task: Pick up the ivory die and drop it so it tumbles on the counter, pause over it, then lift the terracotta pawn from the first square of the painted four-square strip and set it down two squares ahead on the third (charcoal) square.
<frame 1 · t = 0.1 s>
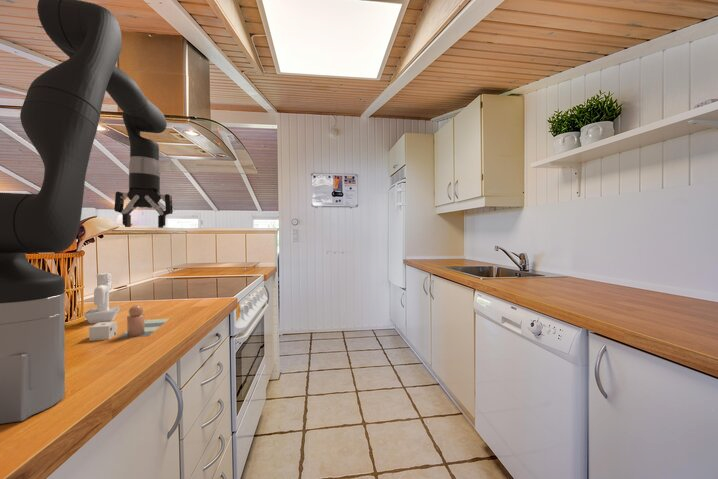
hand: (144, 227, 87), 29 cm above the table, tool pointing down, fingers open, 8 cm apart
figurine: (103, 322, 87), on the table
pawn: (135, 334, 75), point 1 cm above the table, touching board
board: (145, 329, 81), on the table
die: (103, 339, 73), on the table
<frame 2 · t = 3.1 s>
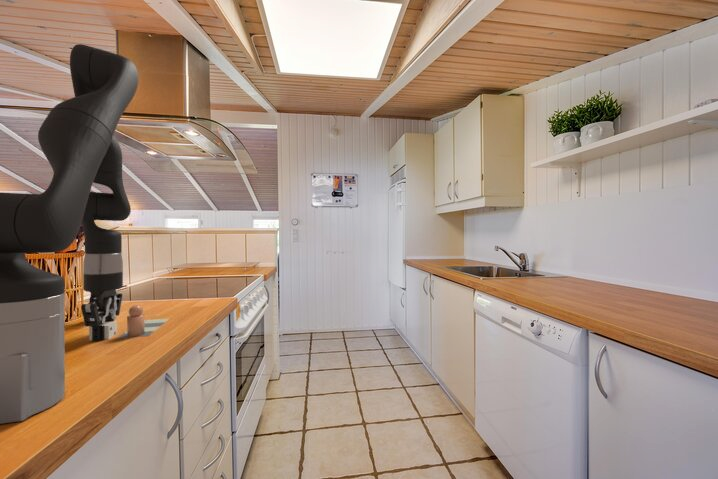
hand: (103, 337, 73), 0 cm above the table, tool pointing down, fingers closed on die, 4 cm apart
die: (103, 339, 73), on the table, touching gripper
everything else where it was.
when the fingers open (7 cm above the table, at t = 5.0 s): die drops 7 cm, on the table.
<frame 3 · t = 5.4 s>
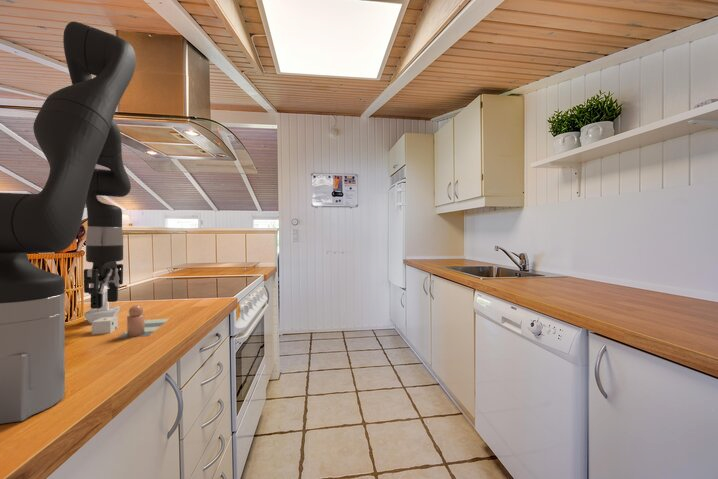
hand: (105, 304, 77), 8 cm above the table, tool pointing down, fingers open, 7 cm apart
die: (105, 333, 77), on the table
everything else where it was.
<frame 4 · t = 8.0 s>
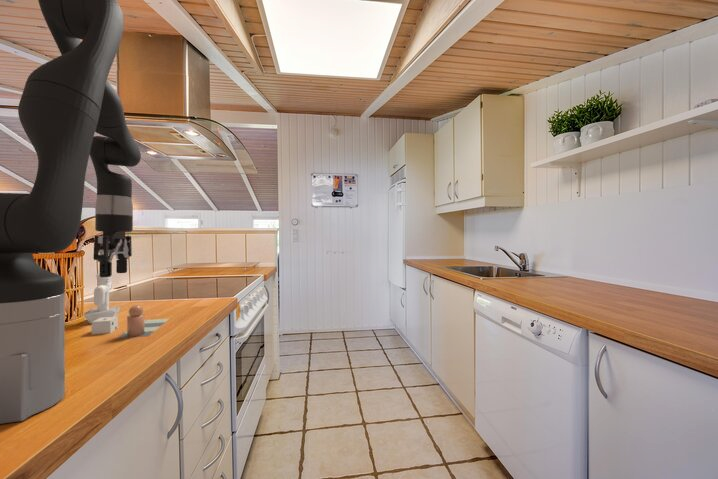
hand: (114, 274, 76), 16 cm above the table, tool pointing down, fingers open, 8 cm apart
nothing on the table moved.
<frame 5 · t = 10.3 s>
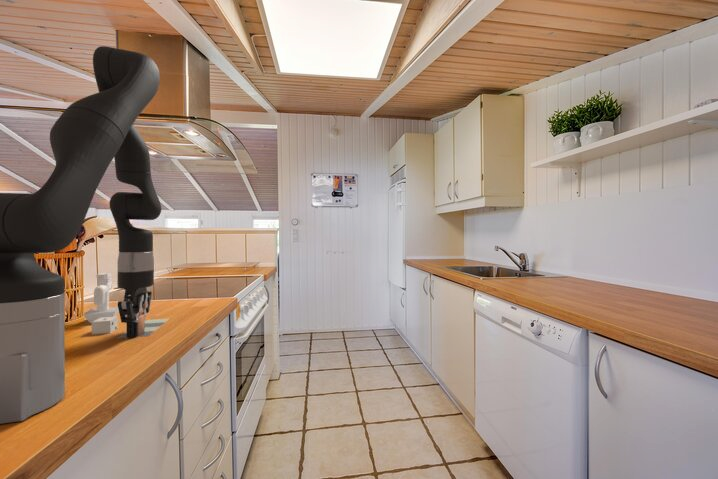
hand: (136, 333, 75), 1 cm above the table, tool pointing down, fingers closed on pawn, 3 cm apart
pawn: (135, 334, 75), point 1 cm above the table, touching board, gripper
everything else where it was.
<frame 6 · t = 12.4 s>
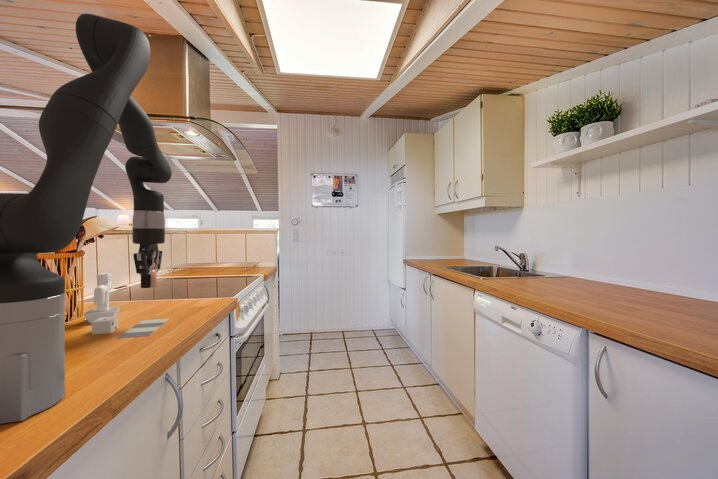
hand: (148, 286, 82), 12 cm above the table, tool pointing down, fingers closed on pawn, 3 cm apart
pawn: (148, 287, 82), point 12 cm above the table, touching gripper
everything else where it was.
when the fingers open (2 cm above the table, at t = 14.4 s): pawn drops 1 cm, resting on board.
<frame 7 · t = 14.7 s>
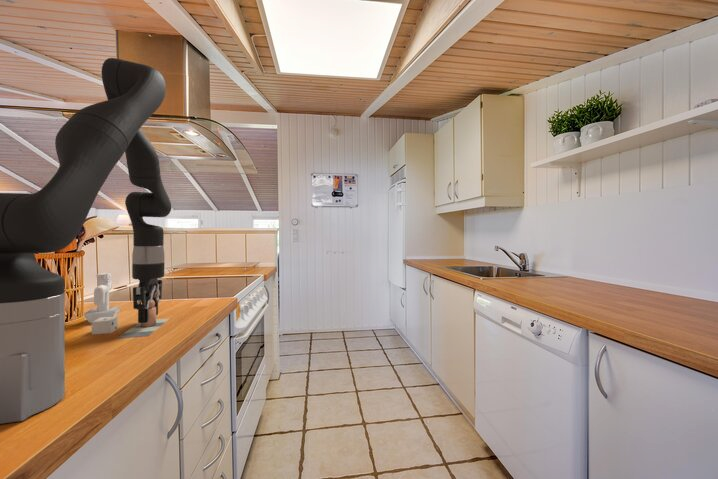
hand: (148, 318, 83), 2 cm above the table, tool pointing down, fingers open, 6 cm apart
pawn: (148, 325, 83), point 1 cm above the table, touching board
everything else where it was.
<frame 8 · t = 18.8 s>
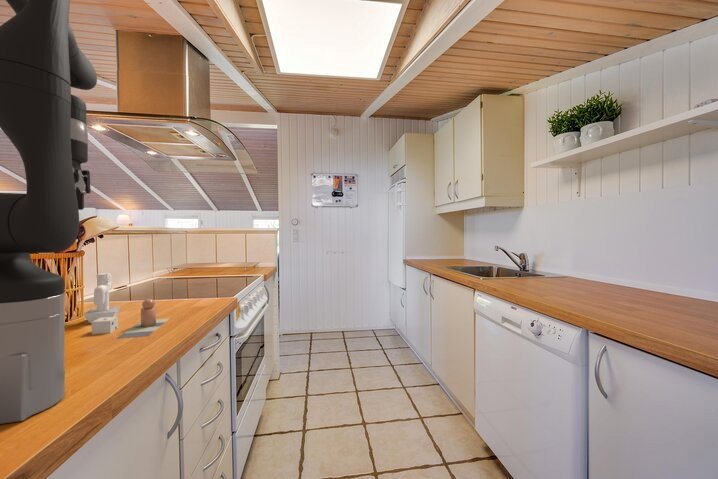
hand: (66, 208, 68), 33 cm above the table, tool pointing down, fingers open, 8 cm apart
nothing on the table moved.
at the end: pawn 0.1 cm from the target spot on the board, point 0.6 cm above the board's base; pawn tilted 0°; die on the table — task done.
